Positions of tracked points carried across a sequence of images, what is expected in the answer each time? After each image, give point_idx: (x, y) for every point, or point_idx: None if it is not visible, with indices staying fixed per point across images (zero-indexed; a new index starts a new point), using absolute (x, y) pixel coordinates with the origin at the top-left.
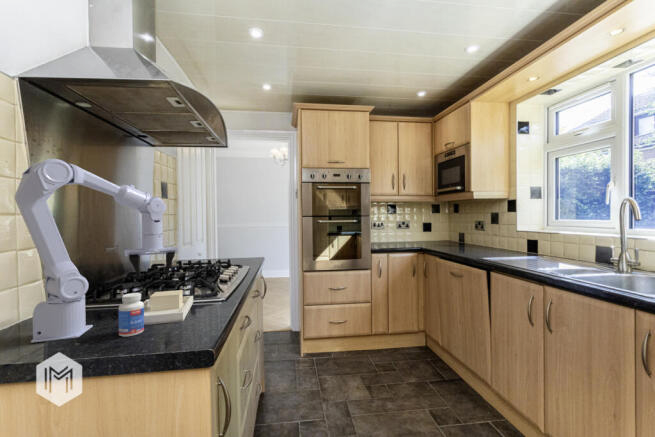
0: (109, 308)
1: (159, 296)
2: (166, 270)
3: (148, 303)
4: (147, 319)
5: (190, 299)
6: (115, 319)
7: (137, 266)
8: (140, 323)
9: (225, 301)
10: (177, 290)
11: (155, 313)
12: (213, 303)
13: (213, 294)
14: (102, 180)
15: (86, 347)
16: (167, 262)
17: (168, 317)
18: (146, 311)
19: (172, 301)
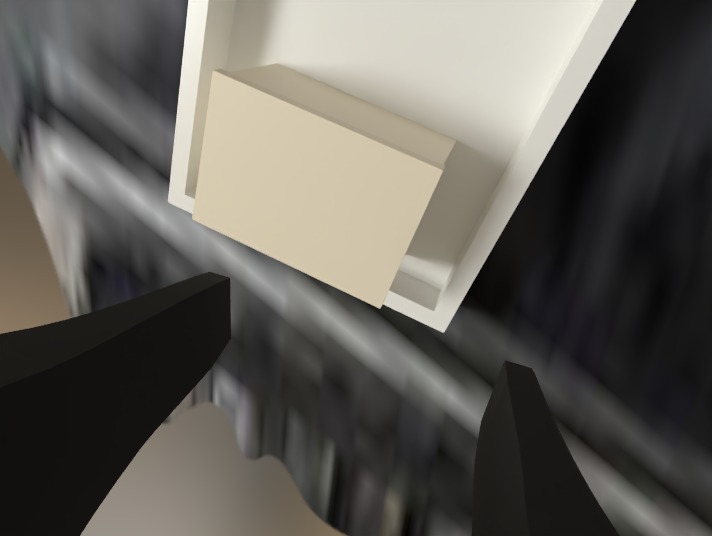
0: (645, 440)
1: (367, 134)
2: (168, 302)
3: (441, 293)
4: None
5: (180, 107)
6: (708, 152)
7: (543, 508)
8: None
9: (28, 81)
10: (227, 235)
11: (437, 44)
12: (90, 86)
13: (104, 284)
14: None
15: None
16: (47, 354)
17: None
18: (481, 155)
19: (292, 89)
